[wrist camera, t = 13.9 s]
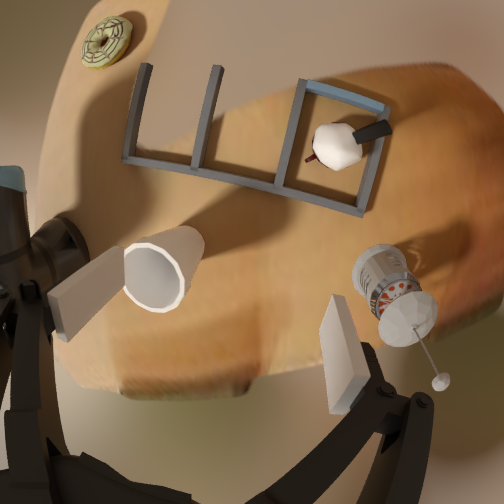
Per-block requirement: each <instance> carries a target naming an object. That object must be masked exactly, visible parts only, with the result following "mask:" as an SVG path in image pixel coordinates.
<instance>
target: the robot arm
mask: <svg viewBox="0 0 504 504" xmlns="http://www.w3.org/2000/svg"><path fill="white" fill-rule="evenodd" d="M26 194H27V191H26V188H25V175H24V171H23V169H22V168H21V167H19V166H0V409H1V405H2V401H3V397H4V393H5V389H6V386H7V382H8V379H9V376H10V372H11V391H10V392H11V393H10V396H11V397H10V404H11V405H10V406H11V407H10V410H6V411H5V413H4V426H5V440H6V450H7V459H8V466H9V469H5V470H0V504H199V503H198V502H196V501H194V500H192V499H191V494H188V493H184V492H181V491H177V490H174V489H170V488H167V487H164V486H158V485H151V484H143V483H137V482H132V481H130V480H128V479H127V478H125V477H124V476H122V475H121V474H119V473H118V472H117V471H115V470H114V469H113V468H111V467H110V466H109V465H107V464H106V463H104V462H102V461H100V460H98V459H96V458H94V457H92V456H90V455H88V454H86V453H84V452H82V454H81V455H80V456H76V455H70V453H69V451H68V449H67V446H66V444H65V440H64V435H63V430H62V425H61V420H60V414H59V407H58V401H57V392H56V384H55V372H54V356H53V337H52V332H53V331H54V330H55V329H56V333H57V336H58V338H59V339H61V340H63V341H65V342H67V343H68V342H69V341H70V340H71V339H72V338H73V337H74V336H75V335H76V334H77V333H78V332H79V331H80V330H81V329H82V328H83V327H84V326H85V325H86V324H87V322H88V321H89V320H90V319H91V318H92V317H93V316H94V315H95V314H96V313H97V312H98V311H99V310H100V309H101V308H102V307H103V306H104V305H105V304H106V303H107V302H108V301H109V300H110V299H111V298H112V297H113V296H114V295H115V294H117V293H118V292H119V291H120V290H121V289H122V288H123V287H124V286H125V271H124V248H123V247H119V246H113V247H112V248H110V249H108V250H107V251H105V252H104V253H103V254H101V255H100V256H98V257H97V258H95V259H94V260H92V261H91V262H90V260H89V253H88V249H87V246H86V243H85V241H84V238H83V237H82V235H81V233H80V232H79V230H78V229H77V227H76V226H75V225H74V224H73V223H72V222H70V221H69V220H67V219H65V218H62V217H57V218H54V219H51V220H49V221H47V222H45V223H44V224H43V225H42V227H41V228H40V229H39V230H38V231H37V232H36V233H35V234H34V235H33V236H32V237H31V238H30V231H29V222H28V212H27V200H26ZM3 327H4V329H3ZM319 336H320V342H321V349H322V356H323V363H324V371H325V378H326V386H327V395H328V404H329V413H330V414H343V415H344V414H345V413H346V412H347V411H348V409H349V408H350V412H349V413H348V414H347V415H346V416H345V417H344V418H343V420H342V421H341V422H340V423H339V424H338V425H337V426H336V427H335V428H334V429H333V430H332V431H331V432H330V433H329V434H328V435H327V437H326V438H324V439H323V441H322V442H320V443H319V444H318V446H317V447H316V448H314V449H313V450H312V451H311V452H310V453H309V454H308V455H307V456H306V457H305V458H304V459H302V460H301V461H300V462H299V463H298V464H297V465H296V466H295V467H293V468H292V469H291V470H290V471H289V472H288V473H286V474H285V475H284V476H283V477H281V478H280V479H279V480H278V481H277V482H275V483H274V484H273V485H272V486H270V487H269V488H268V489H266V490H265V491H263V492H261V493H259V494H258V495H256V496H255V497H253V498H252V499H250V500H249V501H248V502H246V503H245V504H313V503H314V502H315V501H316V500H317V499H318V498H319V497H320V496H321V495H322V494H323V493H324V492H325V491H326V490H327V489H328V488H329V486H330V485H331V484H332V483H333V482H334V481H335V480H336V479H337V478H338V477H339V476H340V474H341V473H342V472H343V471H344V470H345V469H346V467H347V466H348V465H349V464H350V462H352V460H353V459H354V458H355V457H356V455H357V454H358V453H359V451H360V450H361V449H362V447H363V446H364V445H365V444H366V442H367V441H368V440H369V438H370V437H371V435H372V434H373V433H374V432H377V433H381V434H383V435H382V438H381V441H380V444H379V447H378V450H377V453H376V456H375V459H374V462H373V464H372V467H371V470H370V473H369V475H368V478H367V480H366V483H365V485H364V487H363V490H362V492H361V495H360V496H359V499H358V501H357V503H356V504H418V502H419V499H420V495H421V491H422V487H423V482H424V478H425V473H426V468H427V462H428V457H429V450H430V443H431V436H432V427H433V414H434V402H433V400H432V398H431V397H430V396H428V395H427V394H425V393H422V392H416V393H414V394H413V395H412V396H411V398H408V397H405V396H401V395H398V394H397V392H396V389H395V388H394V386H392V385H391V384H390V383H388V382H386V381H385V379H384V376H383V373H382V370H381V368H380V365H379V363H378V359H377V358H376V354H375V351H374V349H373V348H372V346H371V345H370V344H369V343H366V342H360V340H359V337H358V334H357V331H356V328H355V325H354V322H353V319H352V317H351V314H350V311H349V308H348V305H347V302H346V300H345V297H344V296H340V295H335V294H332V297H331V300H330V302H329V305H328V308H327V310H326V313H325V316H324V318H323V321H322V324H321V326H320V329H319Z"/></svg>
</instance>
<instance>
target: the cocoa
mask: <svg viewBox="0 0 504 504" xmlns="http://www.w3.org/2000/svg"><path fill="white" fill-rule="evenodd" d="M391 134H392V129H391V127H390V125H389V123H388V121H387V120H386V119H383V120H380V121H378V122H375V123H373V124H371V125H368V126H366V127H363V128H361V129H359V130H356V131H355V130H354V129H353V128H352V127H351V126H349V125H348V124H347V123H337V122H332V123H326V124H321V125H320V126H319V127H318V128H317V129H316V131H315V135H314V138H313V140H312V147H313V153H314V154H313V155H311V156H310V157H308V158H307V159H305V162H306V163H307V162H309V161H312V160H314V159H316V158H317V160H318V161H319V162H321V163H322V164H323V165H325V166H326V167H327V168H331V169H334V170H335V171H338V170H342V169H345V168H347V167H349V166H351V165H353V164H355V163H357V162H359V161H361V157H362V154H363V153H362V145H361V144H362V143H365V142H368V141H371V140H375V139H378V138H381V137H384V136H387V135H391Z"/></svg>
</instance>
